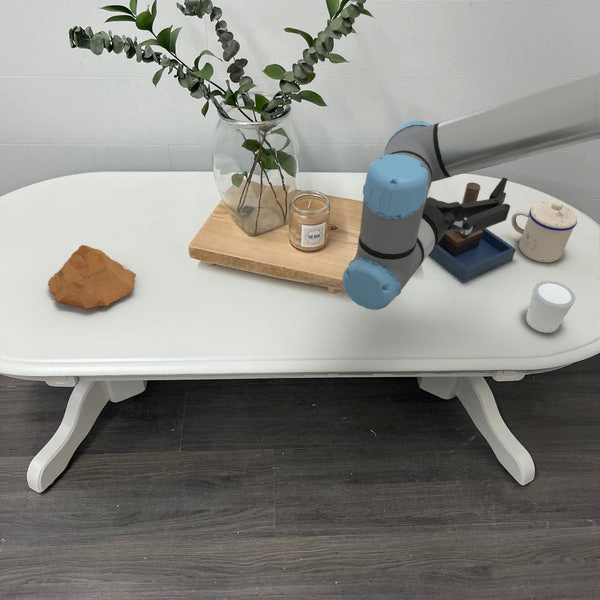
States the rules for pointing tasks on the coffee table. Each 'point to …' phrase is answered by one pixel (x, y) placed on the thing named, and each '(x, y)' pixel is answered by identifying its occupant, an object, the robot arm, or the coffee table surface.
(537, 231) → the teacup with lid
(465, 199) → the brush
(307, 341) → the coffee table surface
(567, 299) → the white short cylinder
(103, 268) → the stone
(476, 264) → the tray
